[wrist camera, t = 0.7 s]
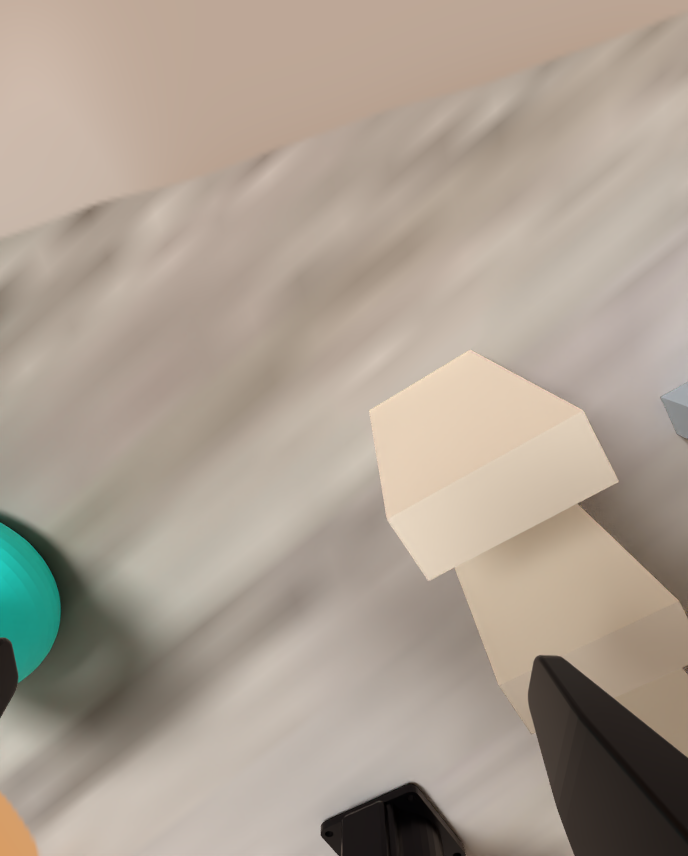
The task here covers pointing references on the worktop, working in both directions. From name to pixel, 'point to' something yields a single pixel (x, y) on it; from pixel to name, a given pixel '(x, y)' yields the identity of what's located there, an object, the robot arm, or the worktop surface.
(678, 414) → the domino
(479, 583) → the ivory domino
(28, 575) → the turquoise lobed shape
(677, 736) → the ivory domino
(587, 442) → the ivory domino
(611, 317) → the worktop surface
